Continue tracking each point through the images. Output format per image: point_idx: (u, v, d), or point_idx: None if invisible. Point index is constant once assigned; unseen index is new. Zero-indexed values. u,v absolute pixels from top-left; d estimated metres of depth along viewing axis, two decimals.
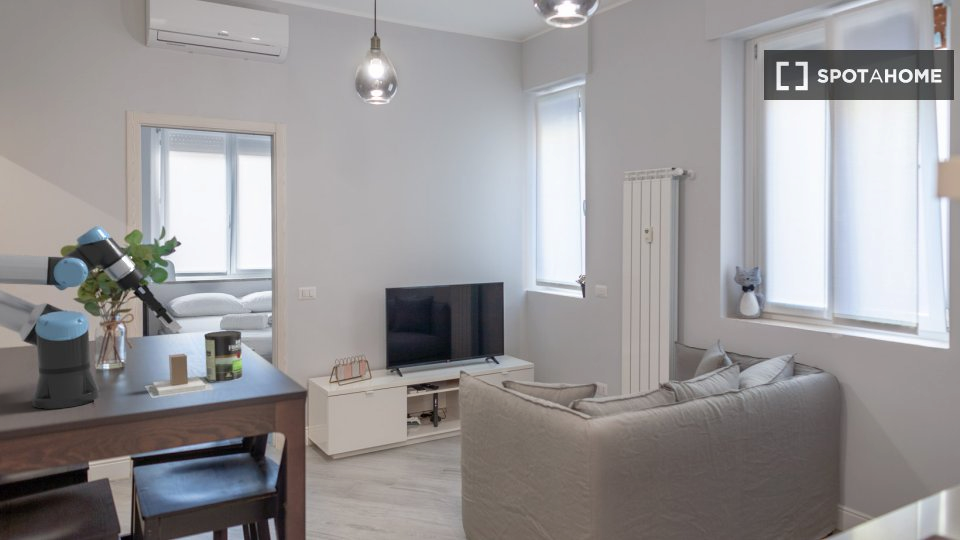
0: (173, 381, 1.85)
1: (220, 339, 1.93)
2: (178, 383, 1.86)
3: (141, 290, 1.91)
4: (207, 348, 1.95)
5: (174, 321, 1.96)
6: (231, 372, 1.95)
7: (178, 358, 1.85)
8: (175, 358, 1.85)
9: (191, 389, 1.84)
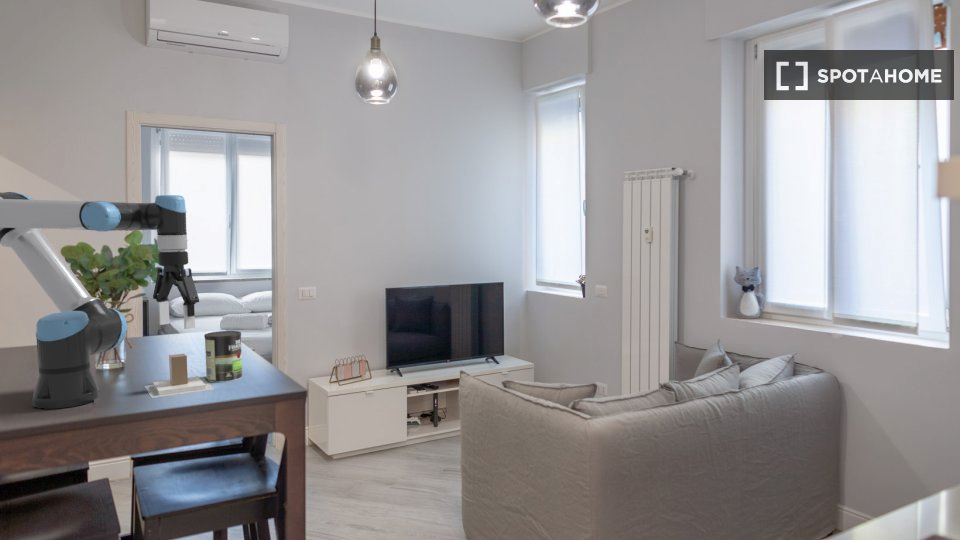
0: (173, 381, 1.85)
1: (220, 339, 1.93)
2: (178, 383, 1.86)
3: (187, 271, 1.81)
4: (207, 348, 1.95)
5: (193, 317, 1.83)
6: (231, 372, 1.95)
7: (178, 358, 1.85)
8: (175, 358, 1.85)
9: (191, 389, 1.84)
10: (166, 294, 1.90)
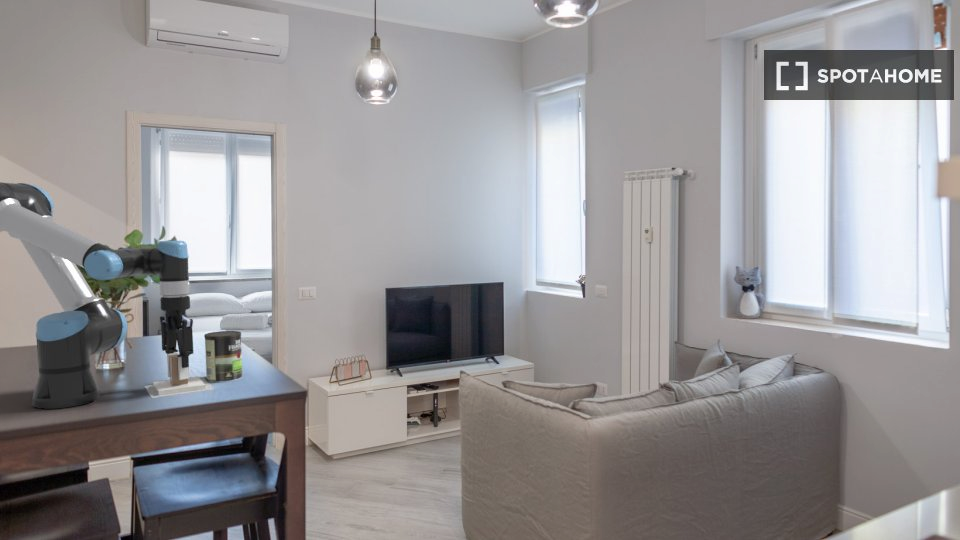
0: (173, 381, 1.85)
1: (220, 339, 1.93)
2: (178, 383, 1.86)
3: (188, 323, 1.82)
4: (207, 348, 1.95)
5: (187, 368, 1.86)
6: (231, 372, 1.95)
7: None
8: (175, 358, 1.85)
9: (191, 389, 1.84)
10: (174, 343, 1.89)
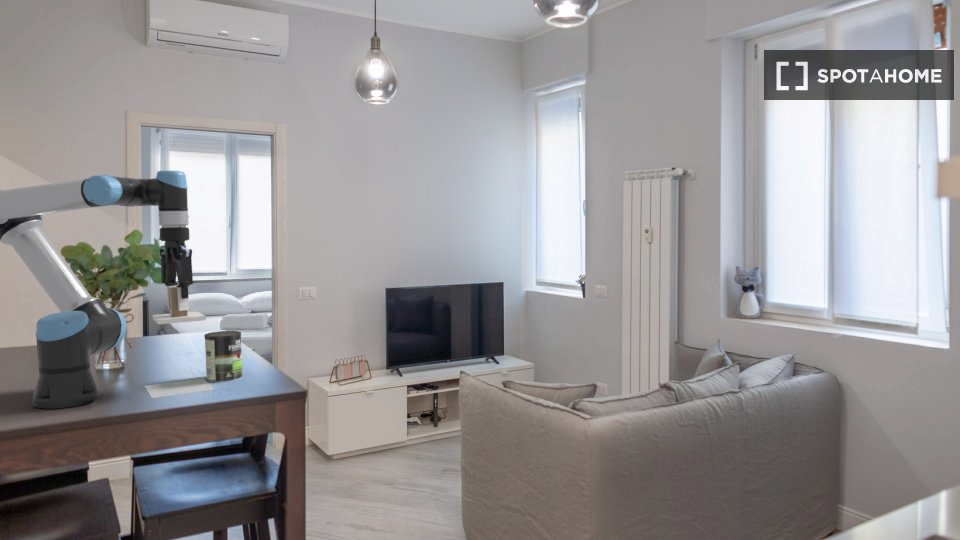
0: (173, 312, 1.84)
1: (220, 339, 1.93)
2: (178, 314, 1.85)
3: (187, 253, 1.81)
4: (207, 348, 1.95)
5: (187, 299, 1.85)
6: (231, 372, 1.95)
7: None
8: (174, 289, 1.84)
9: (191, 320, 1.83)
10: (173, 275, 1.88)
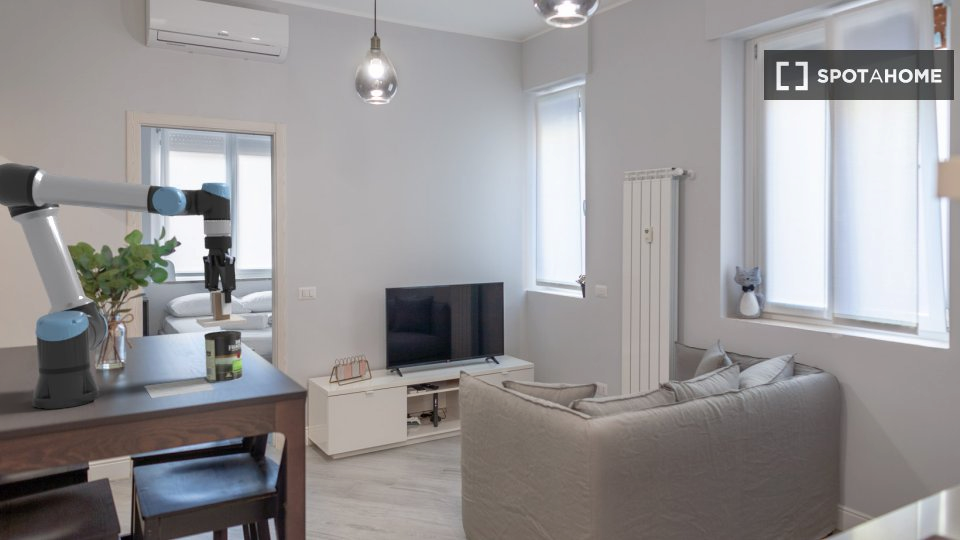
0: (216, 316, 1.95)
1: (220, 339, 1.93)
2: (221, 318, 1.96)
3: (231, 260, 1.92)
4: (207, 348, 1.95)
5: (230, 304, 1.96)
6: (231, 372, 1.95)
7: None
8: (218, 294, 1.95)
9: (234, 323, 1.94)
10: (216, 281, 1.99)
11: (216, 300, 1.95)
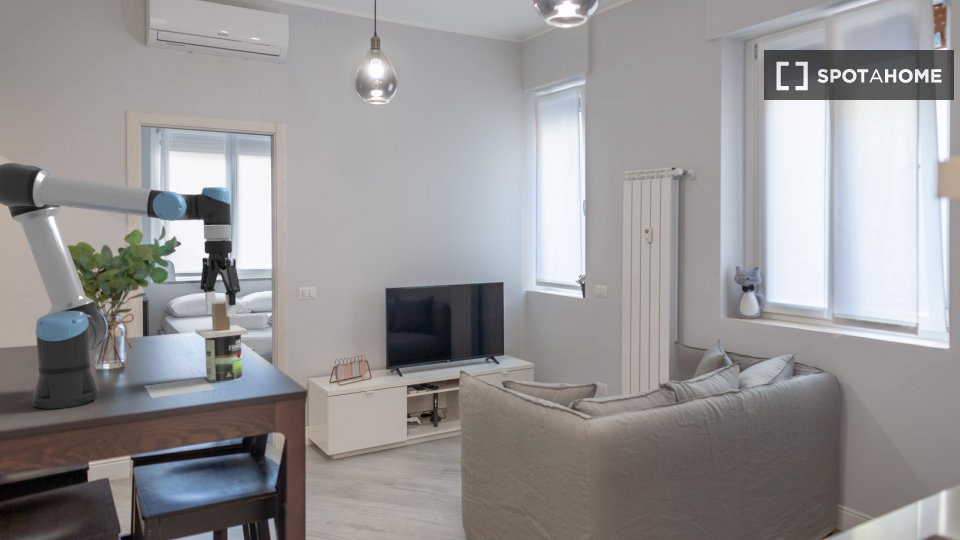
0: (216, 326, 1.95)
1: (220, 339, 1.93)
2: (221, 329, 1.96)
3: (231, 262, 1.92)
4: (207, 348, 1.95)
5: (234, 306, 1.95)
6: (231, 372, 1.95)
7: (221, 305, 1.96)
8: (218, 305, 1.95)
9: (234, 334, 1.94)
10: (212, 284, 2.00)
11: (216, 311, 1.95)
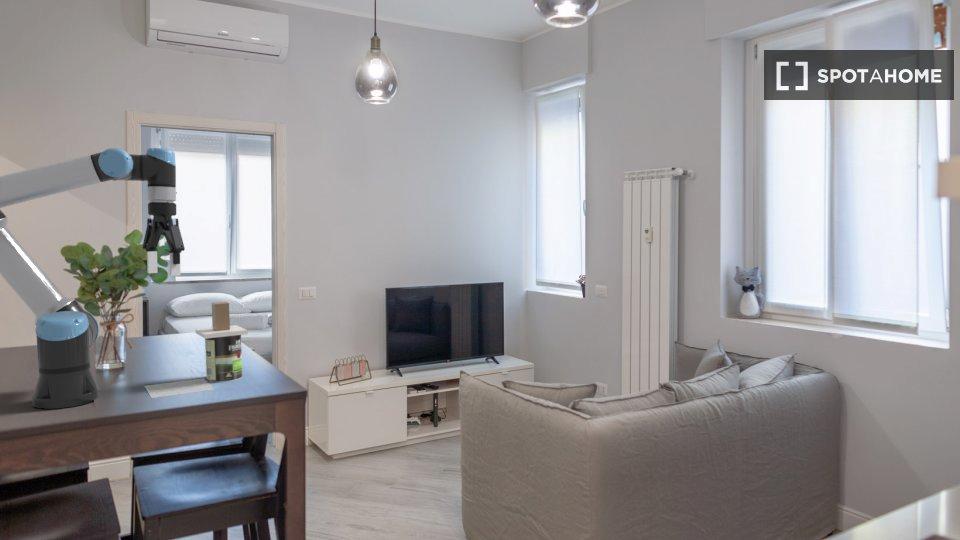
0: (216, 327, 1.95)
1: (220, 339, 1.93)
2: (221, 329, 1.96)
3: (174, 221, 1.90)
4: (207, 348, 1.95)
5: (178, 265, 1.92)
6: (231, 372, 1.95)
7: (221, 305, 1.96)
8: (218, 305, 1.95)
9: (234, 334, 1.94)
10: (155, 244, 1.99)
11: (216, 311, 1.95)
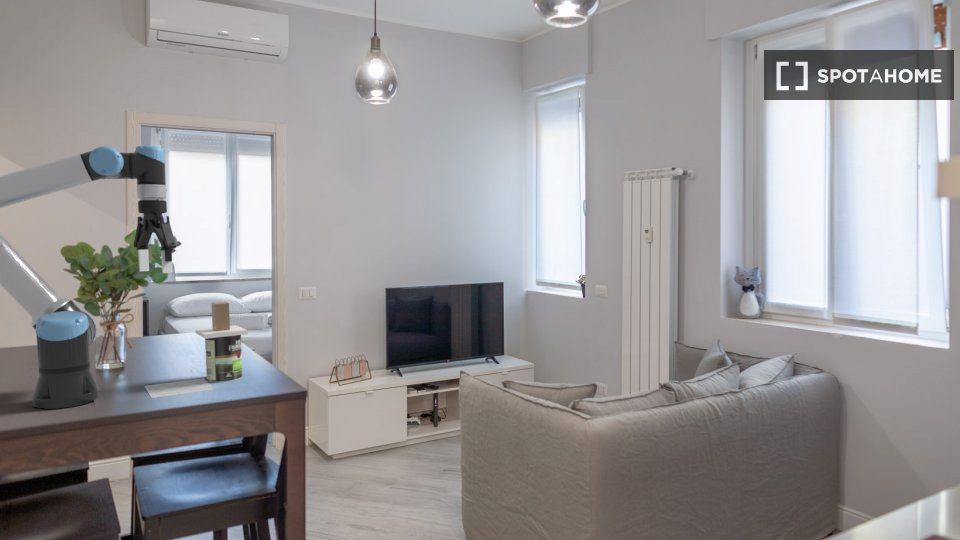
0: (216, 327, 1.95)
1: (220, 339, 1.93)
2: (221, 329, 1.96)
3: (165, 218, 1.90)
4: (207, 348, 1.95)
5: (170, 263, 1.92)
6: (231, 372, 1.95)
7: (221, 305, 1.96)
8: (218, 305, 1.95)
9: (234, 334, 1.94)
10: (146, 242, 1.99)
11: (216, 311, 1.95)
